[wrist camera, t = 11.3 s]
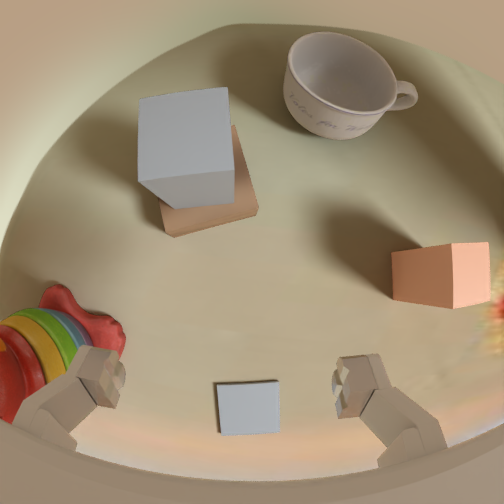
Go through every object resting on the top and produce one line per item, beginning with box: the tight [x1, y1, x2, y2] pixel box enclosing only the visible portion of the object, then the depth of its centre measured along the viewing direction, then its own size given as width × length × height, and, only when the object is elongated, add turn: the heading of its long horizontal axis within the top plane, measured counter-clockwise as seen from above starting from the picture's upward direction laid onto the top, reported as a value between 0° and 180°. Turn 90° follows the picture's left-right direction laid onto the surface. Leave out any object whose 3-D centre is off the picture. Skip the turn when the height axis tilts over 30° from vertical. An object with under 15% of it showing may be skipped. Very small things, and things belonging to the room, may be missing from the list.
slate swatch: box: [217, 381, 280, 436], centre depth 26 cm, size 6×6×1 cm
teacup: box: [283, 32, 418, 140], centre depth 25 cm, size 14×11×8 cm
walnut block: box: [158, 125, 259, 238], centre depth 26 cm, size 8×8×4 cm
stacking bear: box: [0, 284, 126, 424], centre depth 17 cm, size 11×10×18 cm
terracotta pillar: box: [391, 242, 490, 309], centre depth 24 cm, size 5×5×10 cm
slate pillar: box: [138, 87, 235, 209], centre depth 19 cm, size 5×5×10 cm
